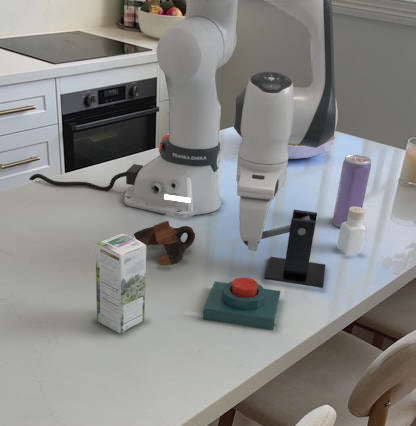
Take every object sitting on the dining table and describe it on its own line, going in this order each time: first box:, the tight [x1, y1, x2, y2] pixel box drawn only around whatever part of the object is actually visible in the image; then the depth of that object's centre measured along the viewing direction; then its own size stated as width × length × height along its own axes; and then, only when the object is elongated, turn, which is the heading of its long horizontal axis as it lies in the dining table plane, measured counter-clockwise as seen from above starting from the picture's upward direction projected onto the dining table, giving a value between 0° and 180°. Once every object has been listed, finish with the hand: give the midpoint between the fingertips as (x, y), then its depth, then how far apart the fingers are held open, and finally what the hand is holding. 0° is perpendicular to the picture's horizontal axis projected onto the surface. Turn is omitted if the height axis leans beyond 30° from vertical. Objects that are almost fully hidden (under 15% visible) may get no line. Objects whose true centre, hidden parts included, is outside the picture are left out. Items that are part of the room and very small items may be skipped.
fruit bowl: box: [287, 134, 337, 160], centre depth 188 cm, size 28×27×11 cm
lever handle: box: [242, 215, 310, 247], centre depth 125 cm, size 13×3×3 cm, turn 79°
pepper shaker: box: [336, 207, 367, 255], centre depth 137 cm, size 4×4×10 cm
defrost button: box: [231, 276, 259, 298], centre depth 115 cm, size 4×4×2 cm
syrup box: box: [95, 233, 147, 334], centre depth 107 cm, size 6×6×14 cm
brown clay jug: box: [133, 220, 196, 266], centre depth 131 cm, size 12×10×8 cm
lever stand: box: [264, 209, 326, 289], centre depth 126 cm, size 11×9×12 cm
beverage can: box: [332, 154, 372, 229], centre depth 147 cm, size 6×6×15 cm
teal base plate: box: [202, 280, 281, 331], centre depth 116 cm, size 12×10×4 cm
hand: (253, 244), depth 127 cm, fingers closed on lever handle, 3 cm apart
